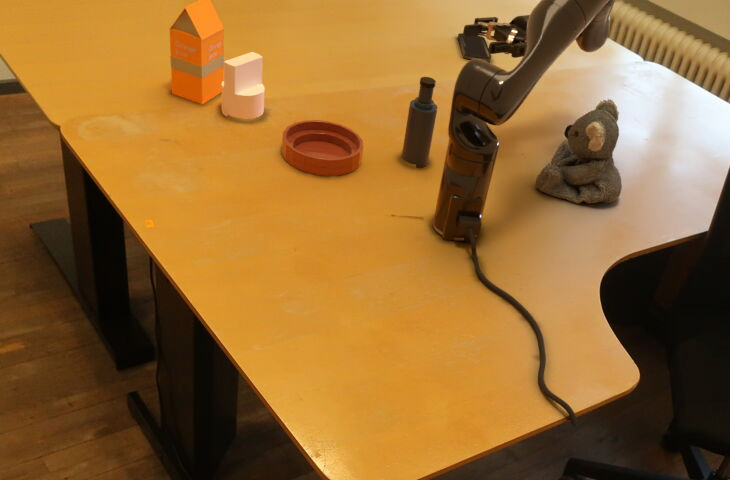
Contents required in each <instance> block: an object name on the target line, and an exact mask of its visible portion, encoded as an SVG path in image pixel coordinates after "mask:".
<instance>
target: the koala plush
mask: <svg viewBox="0 0 730 480" xmlns="http://www.w3.org/2000/svg"><path fill="white" fill-rule="evenodd" d="M619 115H620V111H619V110H618V106H617V105H616V103H615V101H614V100H612V99H610V98H608V99H607V100H605V99H603V100H602V101H601V100H600V102H599V103H598V104H597V105H596V106H595V109H593V110H590V111H588V112H587V113H585V114H583V115H582V116H580V117H579V118H577V120H575V122H574V123H573V124H569V125H567V126H566V127H565V129H564V137H565V138H566V140H563V141H562V142H561V143H560V145H559V146H558V147H557V149H556V151H555V152H554V153H553V155H552V157H551V161H550V163H547V164H546V165H545V166H544V167H543V168H542V170H540V172H539V174H538V175H537V177H536V180H535V188H536V189H538V190H539V191H540V192H542V193H545V194H547V195H548V196H551V197H555V198H559V199H563V200H567V201H569V202H571V203H573V204H580V203H582V202H584V203H586V204H597V203H599V202H601V203H606V204H607V203H608V204H610V203H614V202H616V200H617V199H618V198H619V197H620V196H621V193H622V189H623V185H622V184H623V183H622V177H621V174H620V172H619V169H618V167H616V165H615V161H614V157H613V153H614V151H615V149H616V147H617V143H618V140H619V136H620V129H619V128H620V127H619V125H618V121H619Z"/></svg>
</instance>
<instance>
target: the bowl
mask: <svg viewBox="0 0 730 480" xmlns="http://www.w3.org/2000/svg"><path fill="white" fill-rule="evenodd" d="M363 152H364V141H363V139H362V138H361V136H360V135H359V134H358V133H357V132H355V131H354V130H353V129H351V128H349V127H347V126H346V125H342V124H340V123H336V122H333V121H329V120H328V121H327V120H322V119H321V120H319V119H312V120H311V119H310V120H302V121H297V122H293V123H292V124H290V125H288V126H286V128H285V129H284V130H283V131H282V143H281V155H282V157H283V159H284V161H285V162H286V163H288V164H289V165H290V166H292V167H293V168H295V169H297V170H299V171H301V172H304V173H306V174H307V173H308V174H311V175H316V176H323V177H337V176H343V175H347V174H350V173H352V172H354V171H356V170H357V169H358V168H359V167H360V165H362V160H363Z"/></svg>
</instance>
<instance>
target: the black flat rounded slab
mask: <svg viewBox="0 0 730 480" xmlns="http://www.w3.org/2000/svg"><path fill="white" fill-rule="evenodd" d="M457 41H458V44H459V47H460V50H461V54H462V57H463V59H467V60H472V59H475V58H478V59H482V60H485V61H487V62H489V63H490V62H491V60H492V54H490V53H489V52H488V49H489V45H488V43H487V39H486V37H485V36H480V35H478V36H469V37H465V36H464V35H463V32H460V33H458V34H457Z"/></svg>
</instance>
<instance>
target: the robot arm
mask: <svg viewBox="0 0 730 480" xmlns="http://www.w3.org/2000/svg"><path fill="white" fill-rule="evenodd" d="M615 2H616V0H540V1H539V2H538V3H537V4H536V5H535V7H534V8H533V9H532V10H531V12H530V14H526V15H525V14H523V15H517V16H515V17H514V18H512V20H511V21H510V22H509V23H508V22H499V18H498V17H496V16H487V17H475V18H474V22H473V24H472V23H471V24H465V25H464V27H463V31H462V33H463V35H464V36H465V37H469V36H482V37H484V38H485V39H486V40H488V41H491V42H489V44H488V52H489V53H490V54H491V55H496V54H504V55H510V54H511V58H513V59H517V58H521V59H520V61H519V62H518V64H517V65H516V66H515V67H514V68H513V69H511V70H510V71H509V70H508V71H507V70H505V69H503V68H501V67H499V66H498V65H495V64H493V63H491V62H490V61H489V62H488V61H485V60H482V59H478V58H475V59H469V60H468V61H467V62H466V63H465V64H464V65H463V66H462V68H461V69H460V71H459V73H458V75H457V78H456V80H455V83H454V87H453V91H452V98H451V107H450V114H449V120H448V127H447V128H448V129H447V134H448V145H447V149H446V153H445V154H446V155H445V158H444V164H443V167H442V168H443V169H442V175H441V180H440V185H439V189H438V194H437V199H436V204H435V205H436V206H435V210H434V215H433V218H432V223H431V224H432V228H433V229H434V231H435V232H436V233H437V234H438V235H440V236H441V237H442V239H443V240H445V241H457V242H469V243H470V250H471V257H472V262H473V265H474V270H475V273H476V275H477V277H479V279H480V280H481V281H482V282H483V284H485V285H486V287H488V288H490V289H491V290H492V291H493V292H495V293H497V294H498V295H500V296H502V297H503V298H504V299H506V300H508V301H509V302H510V303H511V304H512V305H514V306H515V308H517V310H519V311H520V312H521V313H522V314H523V315H524V317H525V318H526V319H527V320H528V321H529V323H530V324H531V326H532V327H533V330H534V331H535V333H536V337H537V340H538V349H539V354H540V355H539V357H540V359H539V360H540V362H539V368H538V374H537V378H538V384H539V386H540V389H541V390H542V392H543V393H544V394H545V396H546V397H547V398H549V399H550V400H551V401H553V402H554V403H556V404H558V405H559V406H560V407H562V408H563V409H564V410H565V412H566V413H567V414H568V416H569V418H570V422H571V425H572V426H573V427H575V428H578V427H579V423H578V419H577V416H576V413H575V411H574V410H573V408H572V407H571V406H570V405H569V404H568V403H567V402H566V401H565V400H563V398H561V397H559V396H558V395H556V394H554V392H552V391H551V390H550V389H549V388H548V386H547V384H546V382H545V369H546V362H547V355H546V347H545V340H544V336H543V333H542V331H541V328H540V326H539V324H538V323H537V321H536V319H535V318H534V316H532V314H531V313H530V312H529V310H527V309H526V308H525V307H524V305H522V304H521V303H520V302H519V301H518V300H517V299H515V298H514V296H512V295H511V294H509V293H508V292H506V291H505V290H503V289H502V288H500V287H498V286H497V285H495V284H494V283H492V281H490V280H489V279H488V278H487V277H486V276H485V274H484V273H483V272H482V270H481V268H480V263H479V259H478V254H477V244H476V238H477V237H478V236H480V232H481V229H482V225H483V224H482V220H483V215H484V211H485V207H486V203H487V199H488V194H489V190H490V186H491V181H492V177H493V173H494V169H495V165H496V161H497V157H498V153H499V148H500V139H499V137H498V136H497V134H496V133H495V132H494V131H493V130H492V128H491V127H490V126H489V125H492V126H495V127H498V126H502V125H504V124H506V123H507V122H508V121H509V120H510V119H511V118H512V117H513V116H514V115H515V114H516V112H517V111H518V110H519V108H520V107H521V106H522V105H523V104H524V102H525V101H526V100H527V98H528V96H529V95H530V94H531V92H532V91H533V90H534V88H535V87H536V85H537V84H538V83H539V81H540V80H541V79H542V77H543V76H544V75H545V74H546V72H547V71H548V70H549V69H550V68H551V67H552V66H553V64H554V63H555V62H556V61H557V60H558V58H559V57H561V55H562V54H563V53H564V52H565V51H566V50H567V49H568V48H569V47H570V46H571V45H572V44H573V43H574V41H575V42H576V44H577V46H578V48H579V49H580V50H581V51H583V52H585V53H593V52H594V53H595V52H597V51H599V50H600V49H601V48H602V47H604V45H606V42H607V41H608V39H609V35H610V31H611V30H610V28H611V16H610V15H611V12H612V9H613V7H614V4H615ZM492 32H493V35H492Z"/></svg>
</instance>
